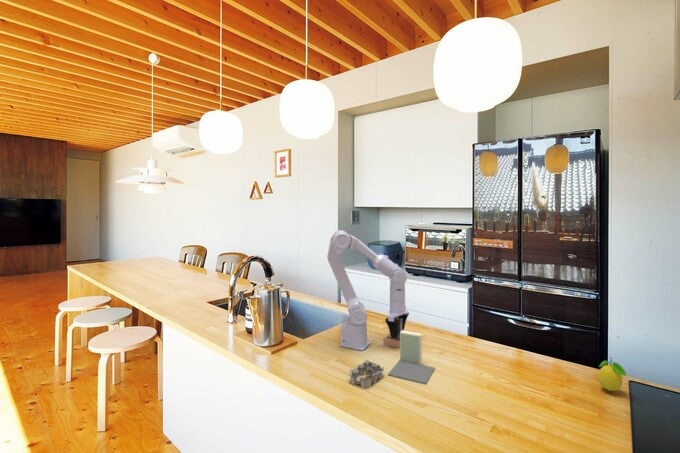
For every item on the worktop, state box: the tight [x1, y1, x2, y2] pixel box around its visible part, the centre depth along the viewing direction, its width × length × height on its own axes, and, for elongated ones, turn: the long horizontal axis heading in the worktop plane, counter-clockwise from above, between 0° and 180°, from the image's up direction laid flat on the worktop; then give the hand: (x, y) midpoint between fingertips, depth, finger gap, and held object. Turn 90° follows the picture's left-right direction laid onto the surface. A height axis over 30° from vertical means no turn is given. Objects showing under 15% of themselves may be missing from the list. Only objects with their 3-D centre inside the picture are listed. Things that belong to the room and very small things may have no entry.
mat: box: [387, 359, 436, 385], centre depth 113 cm, size 12×11×1 cm
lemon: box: [597, 356, 627, 392], centre depth 100 cm, size 7×6×10 cm
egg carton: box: [348, 359, 385, 389], centre depth 109 cm, size 11×8×4 cm
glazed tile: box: [399, 330, 423, 365], centre depth 119 cm, size 7×2×10 cm, turn 62°
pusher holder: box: [382, 332, 400, 349], centre depth 135 cm, size 6×9×2 cm
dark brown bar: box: [388, 317, 402, 340], centre depth 134 cm, size 3×6×10 cm, turn 61°
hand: (397, 334), depth 134 cm, fingers open, 7 cm apart
